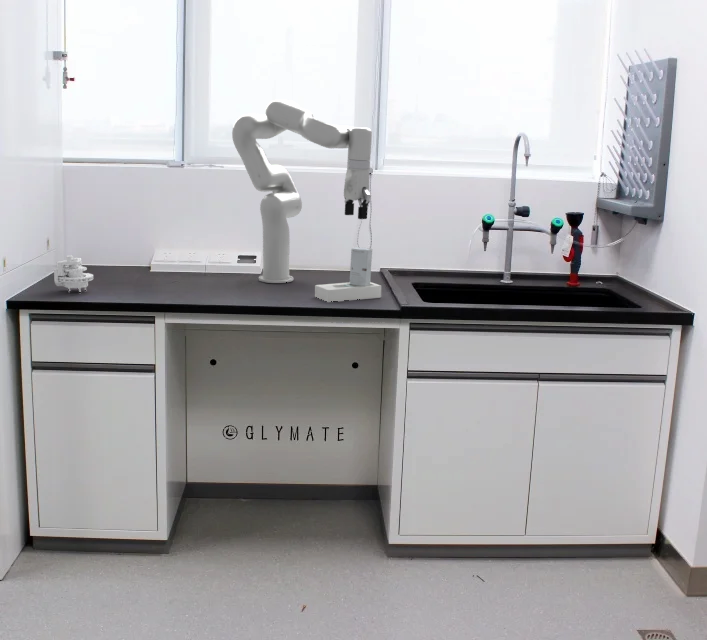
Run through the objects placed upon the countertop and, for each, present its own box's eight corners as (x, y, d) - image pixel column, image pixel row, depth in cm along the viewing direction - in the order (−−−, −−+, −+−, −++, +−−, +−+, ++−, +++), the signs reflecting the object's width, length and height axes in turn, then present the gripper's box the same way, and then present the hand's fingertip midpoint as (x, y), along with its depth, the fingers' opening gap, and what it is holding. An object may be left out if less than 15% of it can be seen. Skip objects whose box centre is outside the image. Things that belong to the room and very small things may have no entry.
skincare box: (349, 284, 262) (350, 248, 259) (354, 282, 266) (355, 246, 263) (366, 286, 260) (367, 249, 257) (371, 284, 264) (372, 248, 261)
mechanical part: (82, 296, 253) (80, 259, 250) (48, 293, 255) (46, 257, 252) (100, 289, 263) (99, 254, 261) (68, 287, 266) (65, 252, 263)
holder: (315, 297, 261) (315, 285, 260) (367, 292, 270) (367, 281, 270) (327, 302, 253) (327, 290, 252) (380, 297, 263) (381, 285, 262)
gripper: (337, 163, 268) (334, 213, 273) (360, 167, 254) (357, 220, 258) (356, 163, 272) (353, 213, 276) (381, 167, 257) (377, 220, 261)
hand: (355, 216), depth 267 cm, fingers open, 9 cm apart
